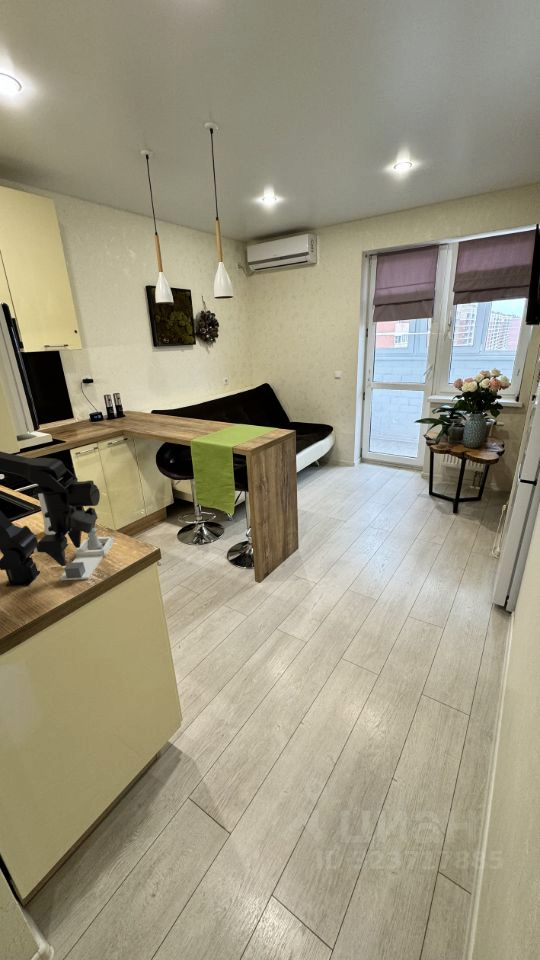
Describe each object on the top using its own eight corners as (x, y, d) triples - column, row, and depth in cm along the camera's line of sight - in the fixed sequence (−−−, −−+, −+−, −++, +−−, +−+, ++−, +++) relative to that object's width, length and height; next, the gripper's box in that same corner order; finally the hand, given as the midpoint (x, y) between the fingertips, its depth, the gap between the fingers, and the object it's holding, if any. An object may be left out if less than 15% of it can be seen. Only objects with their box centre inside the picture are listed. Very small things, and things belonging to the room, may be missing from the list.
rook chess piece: (85, 551, 121) (80, 529, 118) (96, 545, 125) (92, 523, 122) (94, 554, 119) (89, 532, 116) (106, 548, 123) (101, 526, 120)
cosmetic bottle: (44, 536, 131) (28, 478, 123) (45, 529, 136) (29, 472, 128) (63, 532, 134) (49, 474, 125) (63, 525, 139) (49, 469, 130)
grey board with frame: (58, 580, 107) (55, 569, 106) (87, 543, 126) (84, 533, 125) (90, 578, 107) (87, 567, 106) (114, 541, 126) (112, 531, 125)
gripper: (74, 521, 92) (87, 574, 98) (102, 491, 109) (111, 538, 115) (27, 523, 92) (43, 576, 97) (63, 493, 109) (74, 539, 115)
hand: (71, 556), depth 106 cm, fingers open, 9 cm apart
